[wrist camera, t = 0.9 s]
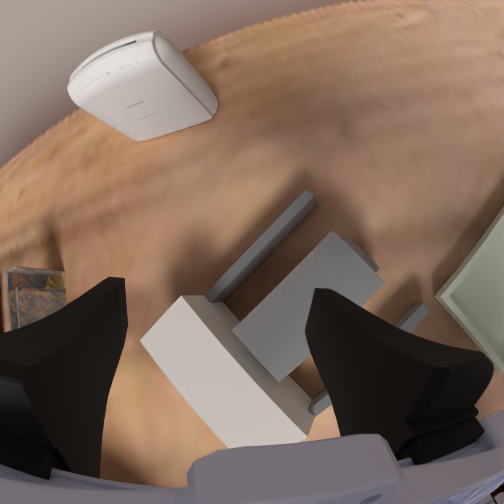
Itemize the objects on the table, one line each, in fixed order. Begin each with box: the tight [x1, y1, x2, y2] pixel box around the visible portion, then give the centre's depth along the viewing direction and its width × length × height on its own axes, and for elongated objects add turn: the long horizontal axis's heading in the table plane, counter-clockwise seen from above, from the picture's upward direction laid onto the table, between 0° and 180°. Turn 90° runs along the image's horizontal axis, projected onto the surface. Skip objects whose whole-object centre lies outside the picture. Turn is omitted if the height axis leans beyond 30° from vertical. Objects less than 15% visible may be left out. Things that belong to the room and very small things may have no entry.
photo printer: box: [68, 31, 218, 141], centre depth 25 cm, size 10×4×12 cm, turn 94°
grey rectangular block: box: [232, 230, 385, 382], centre depth 22 cm, size 5×10×6 cm, turn 134°
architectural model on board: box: [6, 266, 67, 331], centre depth 29 cm, size 11×3×10 cm, turn 8°
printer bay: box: [140, 189, 430, 449], centre depth 22 cm, size 13×16×6 cm
